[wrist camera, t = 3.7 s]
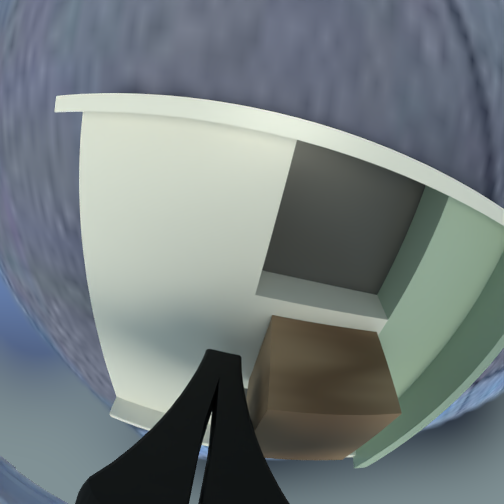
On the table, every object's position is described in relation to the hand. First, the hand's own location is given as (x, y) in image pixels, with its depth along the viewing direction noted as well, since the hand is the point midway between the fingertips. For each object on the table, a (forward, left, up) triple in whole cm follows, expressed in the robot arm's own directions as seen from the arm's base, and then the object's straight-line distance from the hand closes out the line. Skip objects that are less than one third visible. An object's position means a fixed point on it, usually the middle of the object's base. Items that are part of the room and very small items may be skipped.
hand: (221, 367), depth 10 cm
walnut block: (-4, 0, -1) cm, 4 cm away
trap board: (-3, 0, -3) cm, 4 cm away
